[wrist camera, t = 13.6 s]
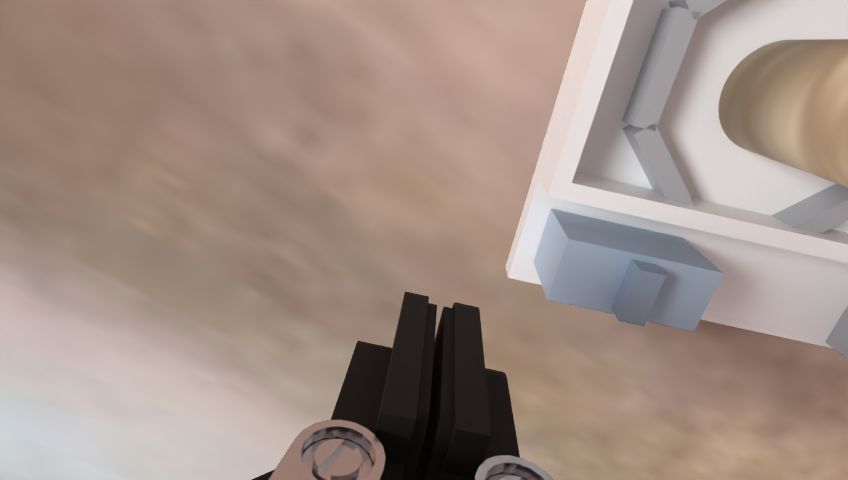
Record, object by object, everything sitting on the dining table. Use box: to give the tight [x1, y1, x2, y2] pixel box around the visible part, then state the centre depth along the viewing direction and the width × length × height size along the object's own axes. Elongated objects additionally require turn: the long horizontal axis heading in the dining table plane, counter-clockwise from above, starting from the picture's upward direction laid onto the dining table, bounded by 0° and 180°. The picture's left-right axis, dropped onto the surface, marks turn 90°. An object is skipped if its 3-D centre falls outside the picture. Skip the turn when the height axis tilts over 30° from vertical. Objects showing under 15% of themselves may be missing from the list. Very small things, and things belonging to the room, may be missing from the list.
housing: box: [506, 0, 848, 360], centre depth 15 cm, size 22×14×3 cm, turn 168°
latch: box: [534, 209, 723, 331], centre depth 17 cm, size 2×5×4 cm, turn 78°
